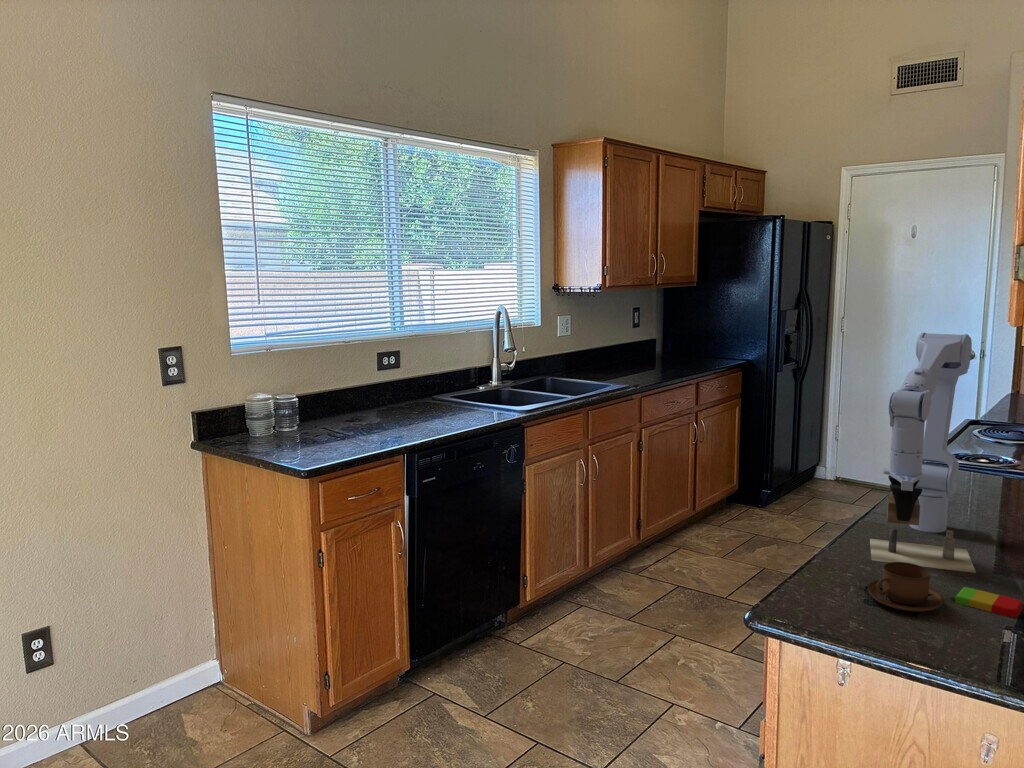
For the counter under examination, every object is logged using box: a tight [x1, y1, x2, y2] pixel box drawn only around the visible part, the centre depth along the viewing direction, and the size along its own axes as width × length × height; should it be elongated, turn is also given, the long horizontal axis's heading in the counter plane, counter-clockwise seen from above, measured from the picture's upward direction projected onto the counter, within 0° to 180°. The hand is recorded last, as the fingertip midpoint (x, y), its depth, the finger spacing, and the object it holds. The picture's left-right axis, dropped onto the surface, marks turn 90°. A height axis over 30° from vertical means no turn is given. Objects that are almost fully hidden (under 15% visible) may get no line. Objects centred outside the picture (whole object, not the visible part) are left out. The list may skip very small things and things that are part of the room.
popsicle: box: [954, 586, 1023, 618], centre depth 135 cm, size 6×15×2 cm, turn 47°
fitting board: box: [869, 528, 977, 574], centre depth 154 cm, size 13×18×6 cm
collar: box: [886, 494, 920, 526], centre depth 154 cm, size 6×6×4 cm
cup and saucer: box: [867, 562, 945, 613], centre depth 135 cm, size 12×12×6 cm
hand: (902, 515), depth 154 cm, fingers closed on collar, 6 cm apart
